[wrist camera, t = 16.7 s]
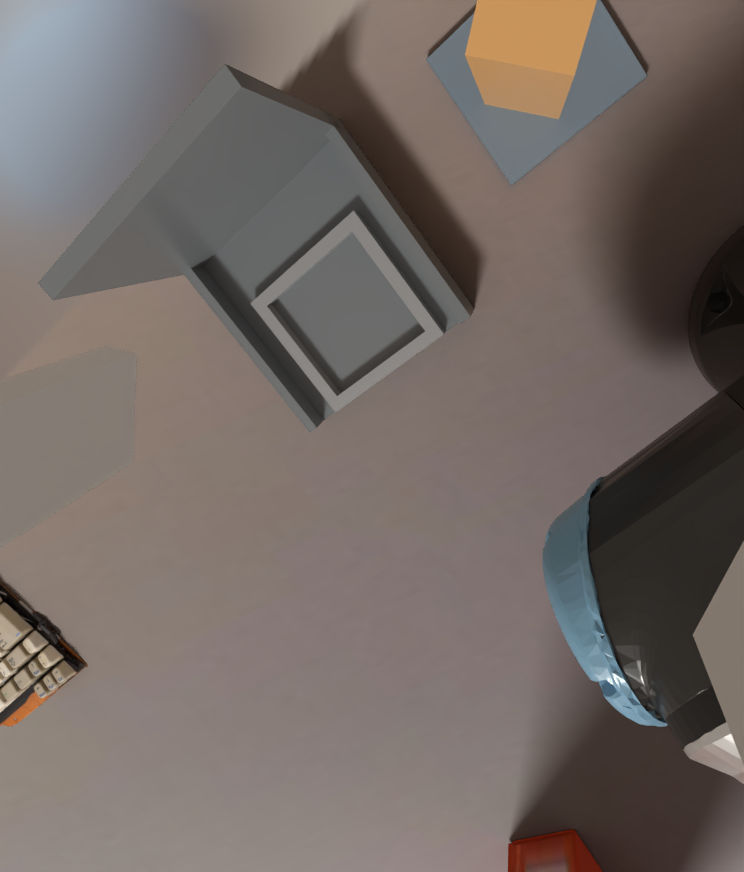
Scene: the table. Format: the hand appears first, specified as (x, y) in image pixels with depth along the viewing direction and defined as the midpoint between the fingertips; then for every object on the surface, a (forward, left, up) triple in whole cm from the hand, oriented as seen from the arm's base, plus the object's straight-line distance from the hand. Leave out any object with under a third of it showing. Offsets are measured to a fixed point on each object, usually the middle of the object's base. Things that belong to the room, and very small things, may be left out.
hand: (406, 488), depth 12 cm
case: (+8, +10, -35) cm, 37 cm away
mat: (+10, -10, -35) cm, 37 cm away
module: (+10, -10, -34) cm, 37 cm away
